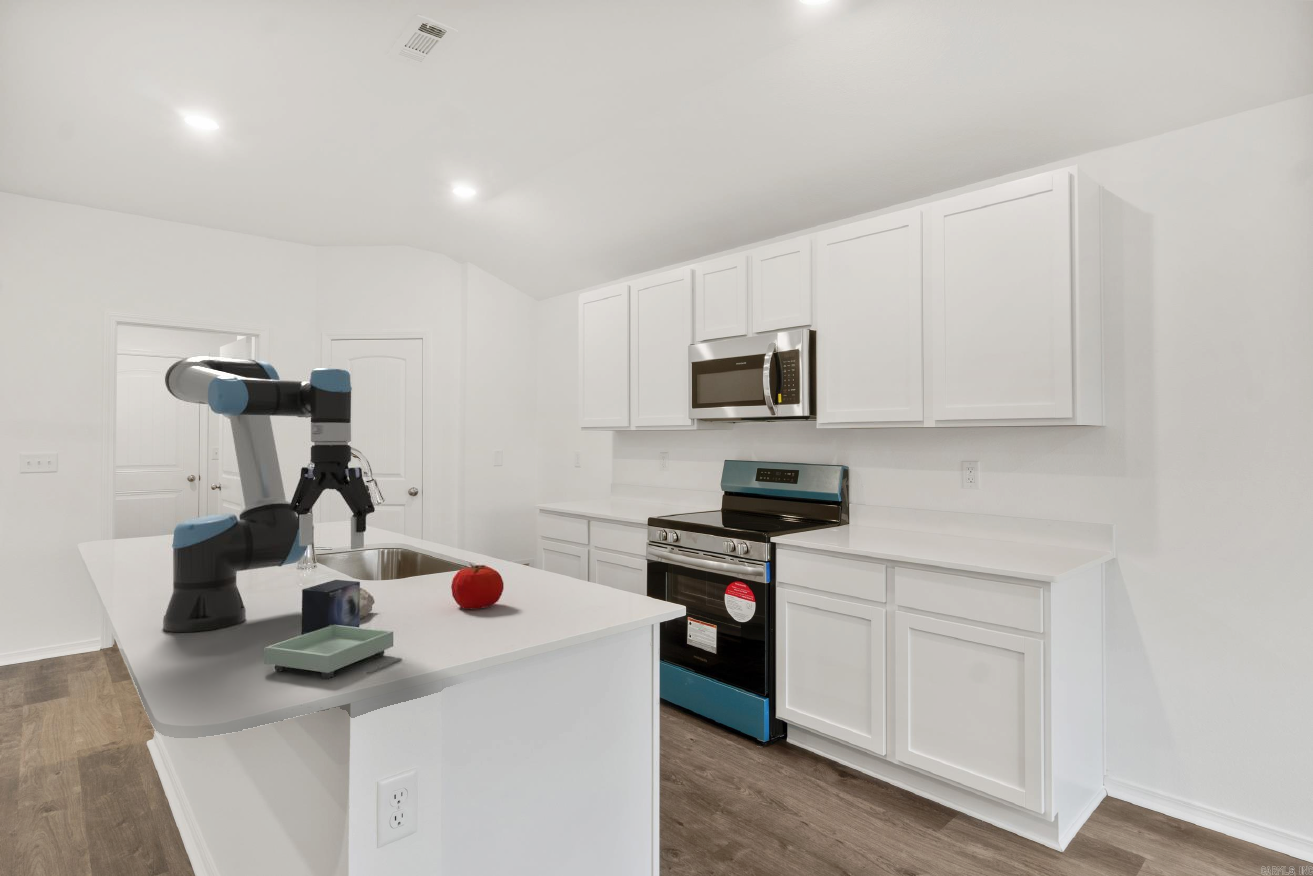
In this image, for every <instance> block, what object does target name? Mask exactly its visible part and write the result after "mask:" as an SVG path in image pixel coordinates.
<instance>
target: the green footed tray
mask: <svg viewBox="0 0 1313 876" xmlns="http://www.w3.org/2000/svg"><path fill="white" fill-rule="evenodd" d="M392 647H394V631H392V630H383V629H377V628H376V629H374V628H366V627H365V628H364V627H360V626H359V627H350V626H341V625H332V626H329V627H326V628H322V629H319V630H316V631H313V632H310V633H307V634H304V635H298V636H295V637H292V638H289V639H286V640H283V641H280V642H277V643H273V644H270V645H267V646H265V647H264V649H263V650H264V652H263V654H264V655H263V656H264V658H263V659H264V665H265V664H266V665H270V666H271V665H272V666H274V669H275V671H276V672H277V673H279V672H282V671H285V670H287V668H291V669H293V668H294V669H300V670H306V671H314V672H320V673H321V675H322V678H324V679H326V680H327V679H329V678H332V677H333V676H334V674H335V671H336V670H339V669H341V668H344V667H345V666H348V665H352V664H353V663H355V662H359V661H361V660H364V659H366V658H368V657H371V656H373V655H374V657H376V658H380V657H383V656H384V655H385V650H389V649H390V648H392Z"/></svg>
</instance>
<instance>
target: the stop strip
mask: <svg viewBox="0 0 1313 876" xmlns="http://www.w3.org/2000/svg"><path fill="white" fill-rule="evenodd" d="M402 660H403V658H402V657H398V658H395V659H393V660H390V661H389V662H386V663H384V664H380V665H379V666H377V667H374V668H371V669H370V670H368V671H366V674H373V673H374V672H377V671H379V670H382V669H385V668H386V667H388V666H390V665H393V664H396V663H397V662H400V661H402Z"/></svg>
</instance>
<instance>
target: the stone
mask: <svg viewBox="0 0 1313 876" xmlns="http://www.w3.org/2000/svg"><path fill="white" fill-rule="evenodd" d="M374 604H375V598H374V595H371V593H369V592H368V591H367V590H366V589H365V588H362V587H360V609H359V620H361V619H362V618H365V616H367V615H369V613H371V612H372V611H373V605H374Z"/></svg>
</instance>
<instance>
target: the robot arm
mask: <svg viewBox="0 0 1313 876" xmlns="http://www.w3.org/2000/svg"><path fill="white" fill-rule="evenodd" d="M351 382H352V381H351V374H350V372H349V371H348V370H345V369H342V368H315V369H313V370H311V372H310V378H309V381H305V380H303V381H302V380H286V379H280V376H279V373H278V372H277V369H276V368H275V367H274V366H273V365H272V364H270V363H269V362H266V361H262V360H256V359H238V358H236V359H235V358H229V357H228V358H226V357H217V356H216V357H213V356H203V355H201V356H200V355H199V356H191V357H186V358H182V359H180V360H178V361H176V362H174V363H173V364H171V366H169V368H168V369H167V371H166V373H165V375H164V383H165V386H166V389H167V391H168V392H169V393H170V394H171V395H172V396H173V397H174V398H176V399H178V400H179V401H180V400H181V401H182V402H186V403H193V404H200V405H208V406H209V407H210V410H211V412H213V413H215V414H217V415H223V417H225V418H227V419H229V421H230V425H231V426H230V428H231V432H232V437H233V444H234V450H235V456H236V461H237V467H238V473H239V479H240V480H239V481H240V483H241V484H240V485H241V490H242V497H243V501H244V502H243V503H244V509H243V510H242V511H241V512H240V513H239V515H238V516H239V519H238V517H237V515H236V514H234V513H233V514H232V513H222V514H217V515H216V514H212V515H207V516H201V517H196V518H193V519H188V520H184V521H183V522H179V524H177V525H176V526H175V528H174V530H173V539H172V540H173V541H172V544H171V547H172V548H173V551H172V557H173V558H172V560H173V561H172V566H173V567H172V568H173V569H172V573H173V575H172V579H173V580H172V581H173V582H172V583H173V584H172V585H173V587H172V590H173V591H172V594H171V596H170V600H169V602H168V605H167V608H166V611H165V613H164V615H163V620H162V621H163V622H162V623H163V624H162V625H163V627H162V629H163V630H164V631H167V632H171V633H172V632H173V633H192V632H193V633H194V632H202V631H203V632H204V631H210V630H211V631H212V630H217V629H222V628H227V627H230V625H231V626H233V625H237V624H239V623H242V622H243V621H245V620H246V618H247V617H246V613H247V612H246V606H245V605H244V601H243V599H242V596H241V593H240V591H239V588H238V585H237V583H238V582H237V575H238V573H237V572H241V571H242V572H243V571H249V570H256V569H264V568H266V569H267V568H273V567H282V566H283V567H284V566H285V565H286V566H287V565H291V564H296V563H298V562H299V561H301V560H302V558H304V555H305V554H306V551H307V549H308V546H311V545H314V543H313V541H314V540H313V538H314V536H313V533H314V532H313V531H314V527H313V524H314V523H313V521H314V519H313V517H314V515H313V513H312V509H313V507H314V506H315V504H316V502H317V501H318V499H319V498H320V496H321V495H322V494H323V492H324V491H325V490H335V491H336V492H338V493H339V494H340V495H341V497H342V498H343V500H344V502H345V503H346V504H347V506H348V508H349V509H350V511H351V512H352V516H350V549H351V550H358V549H364V548H365V543H364V542H365V538H364V537H365V532H366V531H367V516H368V515H369V514H371V513H375V509H376V508H375V506H374V504H373V501H372V498H371V496H370V494H369V490H368V488H367V486H366V483H365V481H364V479H363V470H362V467H359V466H358V467H357V466H355V467H349V463H351V462H352V461H351V460H352V447H351V445H349V443H351V442H352V426H351V425H352V422H351V421H352V420H351V419H352V417H351V416H352V391H353V390H352V383H351ZM271 416H273V417H274V416H275V417H276V416H277V417H298V418H307V419H308V418H310V442H311V443H313V444H312V445H311V447H310V463H312V464H314V465H313V466H303V467H302V468H301V469H300V477H299V480H298V483H297V486H296V489H295V491H294V494H293V496H292V499H291V501H288V500H287V499H286V494H285V488H284V483H283V479H282V478H283V477H282V473H281V468H280V462H279V457H278V453H277V446H276V440H275V435H274V431H273V426H272V425H273V424H272V420H271Z"/></svg>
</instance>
